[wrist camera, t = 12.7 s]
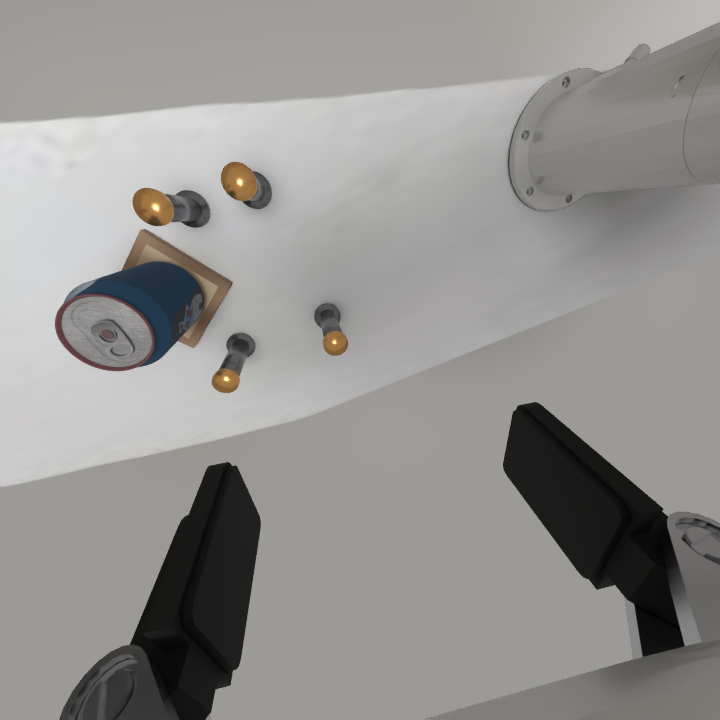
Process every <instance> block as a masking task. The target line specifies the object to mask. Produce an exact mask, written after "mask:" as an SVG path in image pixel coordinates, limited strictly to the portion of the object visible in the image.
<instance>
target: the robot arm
mask: <svg viewBox="0 0 720 720" xmlns="http://www.w3.org/2000/svg"><path fill="white" fill-rule="evenodd" d="M649 53H650V47H649V46H648V45H647V44H640V45H638V46H637V47H636V48H635V49H634V51H633V52H632V53H631V54H630V55H629V57H628V58H627V59H626V60H625V62H624V64H622V65H620V66H618V67H615V68H613V69H611V70H609V71H607V72H605V73H600V72H599V71H596V70H593V69H590V68H578V69H575V70H571V71H568V72H566V73H564V74H562V75H560V76H558V77H556V78H554V79H553V80H551V81H550V82H548V83H547V84H546V85H544V86H543V87H542V88H541V89H540V90H539V91H538V92H537V93H536V94H535V96H534V97H533V98H532V100H531V101H530V102H529V104H528V105H527V106H526V108H525V110H524V112H523V114H522V115H521V117H520V119H519V122H518V124H517V127H516V129H515V132H514V135H513V139H512V143H511V149H510V157H509V165H510V176H511V181H512V184H513V187H514V189H515V192H516V193H517V195H518V196H519V198H520V199H521V200H522V201H523V202H524V203H525V204H526V205H527V206H530V207H532V208H534V209H537V210H543V211H546V210H558V209H562V208H565V207H567V206H570V205H571V204H573V203H575V202H576V201H578V200H579V199H581V198H582V197H583V196H584V195H585V194H586V193H598V192H611V191H625V190H639V189H653V188H666V187H680V186H694V185H707V184H719V183H720V22H719V23H717V24H715V25H712V26H710V27H708V28H706V29H704V30H702V31H699V32H697V33H695V34H693V35H690V36H688V37H686V38H684V39H682V40H680V41H677V42H675V43H673V44H671V45H668V46H666V47H664V48H662V49H660V50H657V51H655V52H653V53H651V54H649ZM503 468H504V471H505V473H506V474H507V476H508V478H509V479H510V480H511V482H512V483H513V484H514V486H515V487H516V488H517V490H518V491H519V493H520V494H521V495H522V497H523V498H524V499H525V501H526V502H527V503H528V505H529V506H530V507H531V509H532V510H533V511H534V513H535V514H536V515H537V517H538V518H539V520H540V521H541V522H542V524H543V525H544V526H545V528H546V529H547V530H548V531H549V533H550V534H551V536H552V537H553V538H554V540H555V541H556V543H557V544H558V545H559V547H560V548H561V549H562V551H563V552H564V553H565V555H566V556H567V557H568V559H569V560H570V561H571V563H572V564H573V565H574V567H575V568H576V570H577V571H578V572H579V573H580V574H581V575H582V576H583V577H584V578H586V579H589V580H590V581H591V583H592V584H593V585H594V587H595V588H596V589H597V590H598V589H601V588H605V587H609V586H613V585H616V587H617V588H618V589H619V590H620V592H621V593H622V594H623V595H624V599H625V606H626V613H627V620H628V627H629V634H630V641H631V648H632V656H633V660H630V661H627V662H623V663H619V664H616V665H612V666H609V667H605V668H602V669H599V670H595V671H591V672H587V673H584V674H580V675H577V676H573V677H570V678H566V679H563V680H559V681H555V682H552V683H548V684H545V685H542V686H538V687H535V688H531V689H527V690H524V691H520V692H517V693H513V694H510V695H506V696H503V697H500V698H496V699H492V700H489V701H485V702H482V703H479V704H475V705H472V706H468V707H465V708H461V709H458V710H454V711H451V712H447V713H444V714H440V715H437V716H433V717H430V718H426V719H423V720H720V523H718V522H717V521H715V520H713V519H710V518H707V517H704V516H702V515H700V514H695V513H691V512H676V513H673V514H670V516H669V517H668V516H667V515H666V514H664V513H663V512H662V510H663V508H662V507H660V506H659V505H658V504H657V503H656V502H655V501H654V500H652V499H651V498H650V497H649V496H648V495H647V494H645V493H644V492H643V491H642V490H641V489H640V488H638V487H637V486H636V485H635V484H634V483H632V482H631V481H630V480H629V479H628V478H627V477H625V476H624V475H623V474H622V473H621V472H620V471H618V470H617V469H616V468H615V467H614V466H612V465H611V464H610V463H609V462H608V461H607V460H605V459H604V458H603V457H602V456H601V455H599V454H598V453H597V452H596V451H595V450H594V449H592V448H591V447H590V446H589V445H588V444H587V443H585V442H584V441H583V440H582V439H581V438H579V437H578V436H577V435H576V434H575V433H574V432H572V431H571V430H570V429H569V428H568V427H566V426H565V425H564V424H563V423H562V422H560V421H559V420H558V419H557V418H556V417H555V416H554V415H552V414H551V413H550V412H549V411H548V410H546V409H545V408H544V407H543V406H542V405H540V404H539V403H536V402H534V403H529V404H524V405H519V406H518V407H517V409H516V410H515V411H514V412H513V415H512V420H511V425H510V431H509V436H508V441H507V447H506V452H505V457H504V462H503ZM260 522H261V521H260V516H259V514H258V512H257V509H256V507H255V505H254V503H253V501H252V498H251V496H250V494H249V492H248V490H247V487H246V485H245V483H244V481H243V479H242V476H241V474H240V472H239V470H238V468H237V466H232V465H231V464H230V463H229V462H226V463H221V464H216V465H212V466H209V467H208V468H207V470H206V472H205V475H204V477H203V480H202V482H201V485H200V487H199V490H198V492H197V495H196V497H195V500H194V503H193V505H192V508H191V510H190V513H189V515H187V516H185V517H184V518H183V519H182V520H181V522H180V524H179V526H178V529H177V531H176V533H175V536H174V538H173V541H172V543H171V546H170V548H169V550H168V553H167V555H166V558H165V560H164V563H163V565H162V567H161V570H160V572H159V575H158V577H157V580H156V582H155V585H154V587H153V590H152V592H151V595H150V597H149V599H148V602H147V604H146V607H145V609H144V612H143V614H142V616H141V619H140V621H139V624H138V626H137V629H136V631H135V634H134V636H133V638H132V641H131V643H130V645H126V646H122V647H120V648H118V649H115V650H114V651H111V652H110V653H108V654H107V655H106V656H104V657H103V658H102V659H100V660H99V661H98V662H97V663H96V664H95V665H94V666H93V667H92V668H91V669H90V670H89V671H88V672H87V673H86V674H85V675H84V677H83V678H82V679H81V680H80V682H79V683H78V685H77V686H76V687H75V689H74V690H73V692H72V693H71V695H70V697H69V699H68V701H67V702H66V704H65V706H64V708H63V710H62V713H61V716H60V719H59V720H212V719H211V717H210V713H211V709H212V704H213V699H214V694H215V689H218V688H222V687H226V686H229V685H231V679H232V672H233V670H236V669H237V668H238V666H239V664H240V660H241V654H242V648H243V641H244V635H245V628H246V621H247V615H248V608H249V601H250V595H251V588H252V581H253V575H254V567H255V561H256V555H257V548H258V540H259V534H260V527H261V523H260Z"/></svg>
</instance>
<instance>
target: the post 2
mask: <svg viewBox="0 0 720 720" xmlns="http://www.w3.org/2000/svg"><path fill="white" fill-rule="evenodd" d="M221 182H222V185H223V188H224V189H225V191H226V192H227V194H228V195H230V196H231V197H232V198H234V199H236V200H240V201H243V202H244V203H245V204H246V205H247V206H249V207H251V208H255V209H260V208H263V207H265V206H266V205H267V204H268V203H269V202H270V199H271V194H272V192H271V187H270V184H269V182H268V181H267V179H266V178H265V177H264V176H263V175H261V174H260V173H258V172H254V171H251V169H250V168H248V167H247V166H246V165H244V164H242V163H240V162H231V163H229V164H227V165H226V166H225V167H224V168H223V170H222V173H221Z"/></svg>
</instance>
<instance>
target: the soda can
mask: <svg viewBox="0 0 720 720" xmlns="http://www.w3.org/2000/svg"><path fill="white" fill-rule="evenodd" d="M203 309H204V296H203V292H202V290H201V288H200V286H199V284H198V283H197V281H196V280H195V279H194V278H193V277H192V276H191V275H190V274H189V273H188V272H187V271H185V270H184V269H182V268H180V267H178V266H176V265H174V264H171V263H167V262H160V261H154V262H147V263H144V264H141V265H138V266H135V267H132V268H129V269H126V270H123V271H120V272H117V273H113V274H110V275H107V276H104V277H101V278H98V279H95V280H92V281H89V282H86V283H83V284H81V285H79V286H77V287H76V288H75V289H73V290H72V291H71V292H70V293H69V294H68V296H67V297H66V299H65V301H64V304H63V305H62V306H61V307H60V309H59V310H58V312H57V315H56V319H55V329H56V333H57V336H58V338H59V340H60V341H61V343H62V344H63V346H64V347H65V348H66V349H67V350H68V351H69V352H70V353H71V354H72V355H74V356H75V357H76V358H78V359H79V360H81V361H82V362H84V363H86V364H88V365H90V366H93V367H96V368H99V369H103V370H108V371H125V370H130V369H134V368H136V367H142V366H146V365H149V364H152V363H154V362H156V361H157V360H159V359H160V358H161V357H163V356H164V355H165V354H166V352H167V351H168V350H169V349H170V348H171V347H172V346H173V345H174V344H175V343H176V342H177V341H178V340H179V339H180V338H181V337H182V336H183V335H184V334H185V333H186V331H187V330H188V329H189V328H190V327H191V326H192V325H193V324H194V323H195V322H196V321H197V320H198V319H199V318H200V316H201V314H202V312H203Z"/></svg>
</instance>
